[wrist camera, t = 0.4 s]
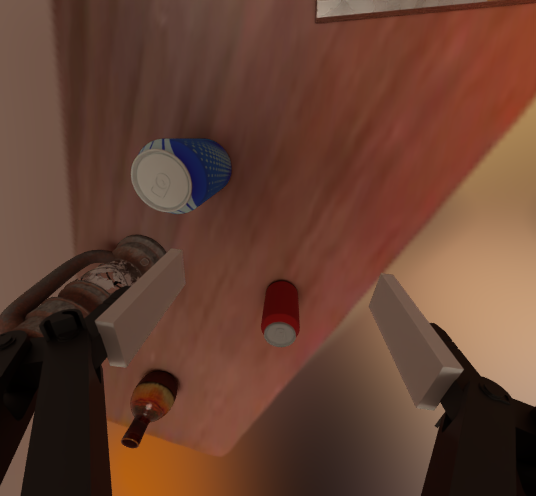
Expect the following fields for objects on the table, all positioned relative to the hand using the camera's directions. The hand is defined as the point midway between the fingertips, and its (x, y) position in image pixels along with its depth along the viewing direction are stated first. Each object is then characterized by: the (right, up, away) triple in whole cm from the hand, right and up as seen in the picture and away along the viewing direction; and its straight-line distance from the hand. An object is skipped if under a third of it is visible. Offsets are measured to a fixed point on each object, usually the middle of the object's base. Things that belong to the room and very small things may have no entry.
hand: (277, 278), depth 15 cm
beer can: (-11, +16, +23) cm, 30 cm away
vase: (-31, -36, +51) cm, 70 cm away
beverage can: (+2, -7, +34) cm, 34 cm away
